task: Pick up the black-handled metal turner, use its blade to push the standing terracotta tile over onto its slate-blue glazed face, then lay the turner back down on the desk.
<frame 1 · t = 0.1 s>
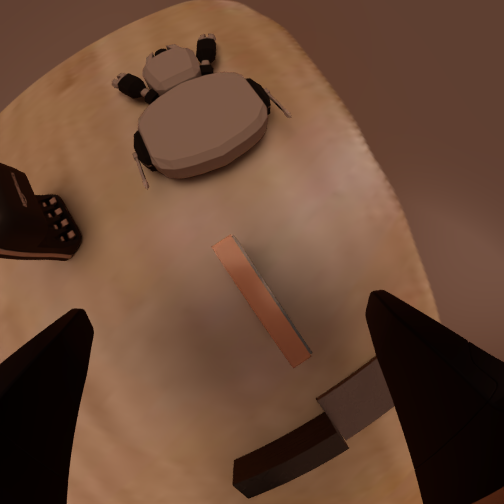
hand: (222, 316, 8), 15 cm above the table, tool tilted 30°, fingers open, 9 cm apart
robot toy: (191, 111, 24), on the table
turner: (285, 445, 22), on the table
battery charger: (65, 223, 23), on the table
tile: (256, 292, 23), on the table
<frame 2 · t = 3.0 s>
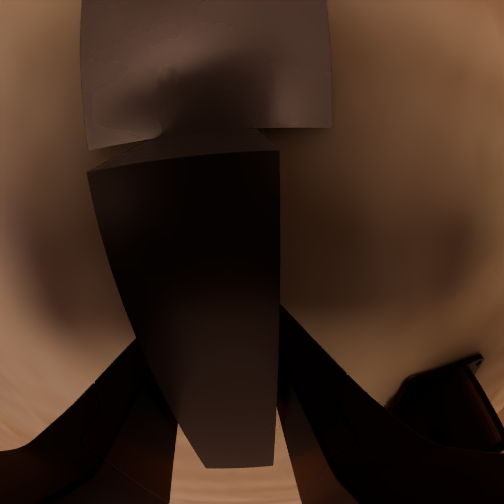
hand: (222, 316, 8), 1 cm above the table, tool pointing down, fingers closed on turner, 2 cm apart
turner: (223, 294, 9), on the table, touching gripper
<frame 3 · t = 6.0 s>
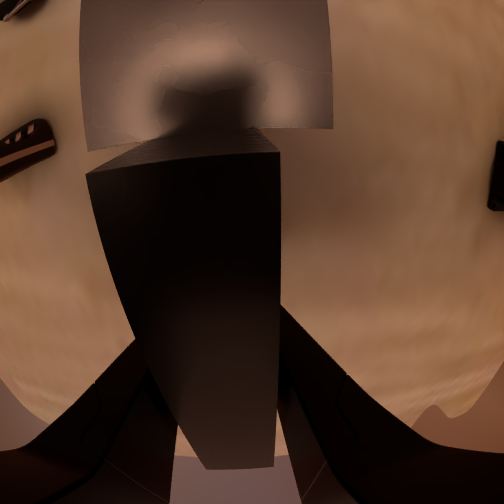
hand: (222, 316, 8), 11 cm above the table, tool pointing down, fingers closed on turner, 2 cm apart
turner: (223, 295, 9), point 10 cm above the table, touching gripper
battery charger: (25, 143, 15), on the table
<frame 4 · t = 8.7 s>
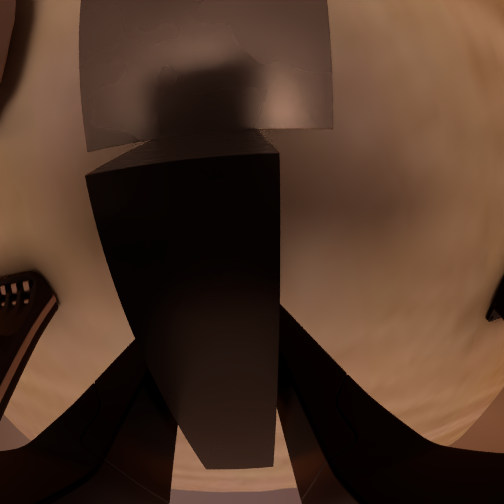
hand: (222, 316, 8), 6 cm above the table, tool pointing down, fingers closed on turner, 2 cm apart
turner: (223, 295, 9), point 6 cm above the table, touching gripper
battery charger: (22, 285, 15), on the table
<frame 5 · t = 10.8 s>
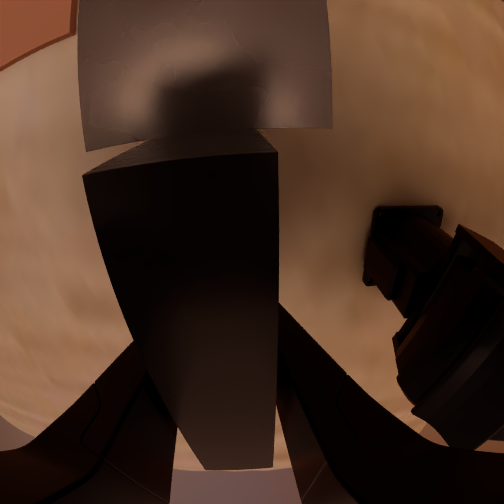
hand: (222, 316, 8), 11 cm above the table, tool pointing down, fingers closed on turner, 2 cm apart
turner: (222, 296, 9), point 10 cm above the table, touching gripper
tile: (27, 55, 11), on the table, tilted 90°
when the fingers open (2 cm above the table, at t = 12.8 s): turner drops 2 cm, on the table.
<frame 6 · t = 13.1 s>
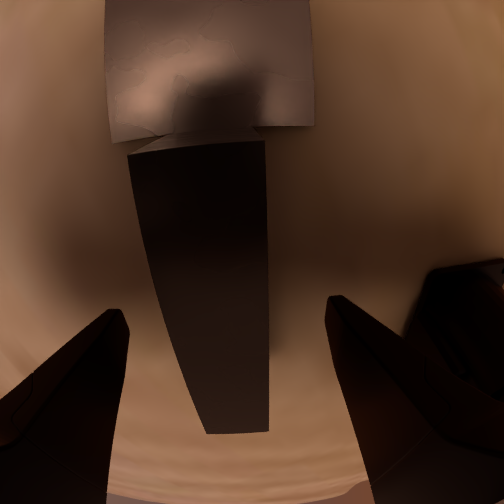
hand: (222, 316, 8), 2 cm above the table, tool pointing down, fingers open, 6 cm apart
turner: (224, 269, 10), on the table
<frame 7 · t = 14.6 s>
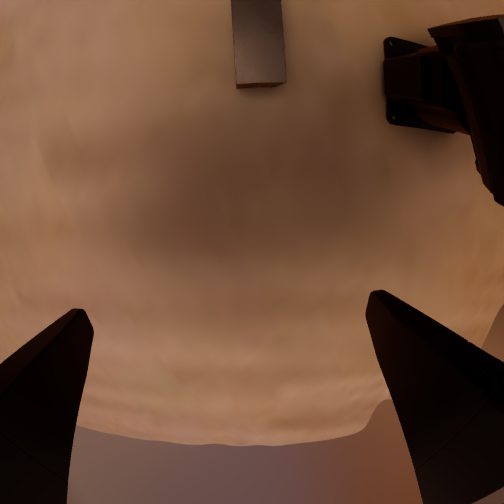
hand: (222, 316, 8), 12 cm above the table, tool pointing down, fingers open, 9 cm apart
turner: (251, 17, 13), on the table
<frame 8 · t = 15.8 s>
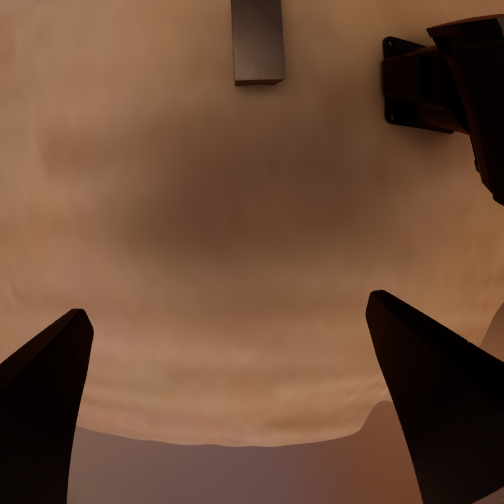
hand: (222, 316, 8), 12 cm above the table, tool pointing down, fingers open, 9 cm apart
turner: (251, 15, 13), on the table
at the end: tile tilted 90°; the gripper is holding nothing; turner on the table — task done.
